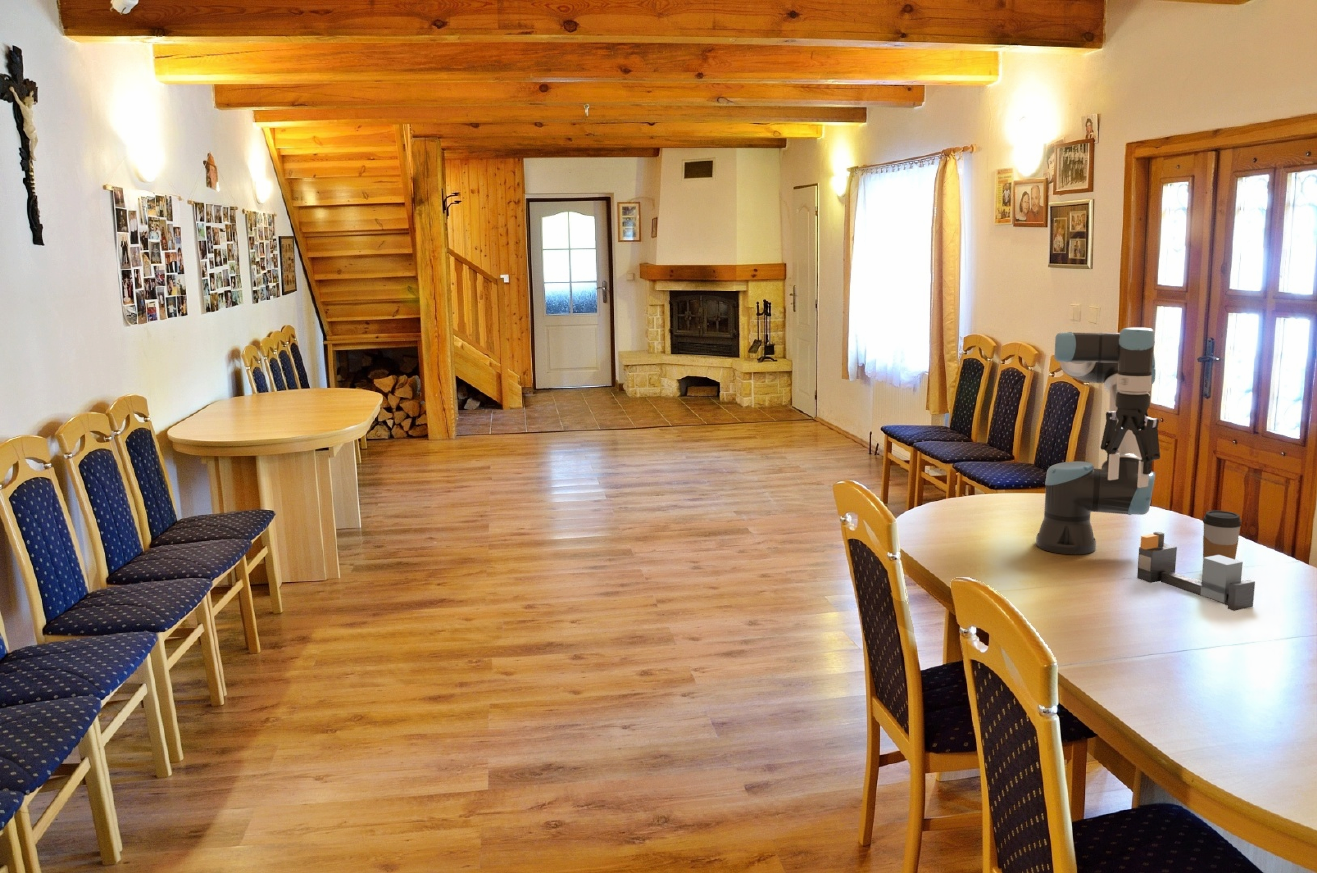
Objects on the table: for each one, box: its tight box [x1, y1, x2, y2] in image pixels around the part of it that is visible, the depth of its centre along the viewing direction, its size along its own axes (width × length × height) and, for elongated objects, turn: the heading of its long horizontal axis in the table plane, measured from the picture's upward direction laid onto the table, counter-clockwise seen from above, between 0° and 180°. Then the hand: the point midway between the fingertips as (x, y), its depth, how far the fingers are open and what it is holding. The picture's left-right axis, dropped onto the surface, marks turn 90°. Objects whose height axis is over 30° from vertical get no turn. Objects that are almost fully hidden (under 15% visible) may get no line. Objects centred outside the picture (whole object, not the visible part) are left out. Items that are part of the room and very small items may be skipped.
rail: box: [1160, 571, 1229, 606], centre depth 231 cm, size 19×2×2 cm, turn 22°
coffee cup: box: [1202, 510, 1242, 560], centre depth 244 cm, size 8×8×15 cm
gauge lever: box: [1139, 531, 1165, 550], centre depth 240 cm, size 2×6×3 cm, turn 112°
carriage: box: [1201, 555, 1243, 604], centre depth 225 cm, size 6×5×9 cm
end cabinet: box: [1136, 542, 1178, 584], centre depth 242 cm, size 4×8×8 cm, turn 112°
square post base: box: [1227, 578, 1256, 612], centre depth 221 cm, size 2×6×6 cm, turn 112°
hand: (1127, 482), depth 242 cm, fingers open, 8 cm apart
